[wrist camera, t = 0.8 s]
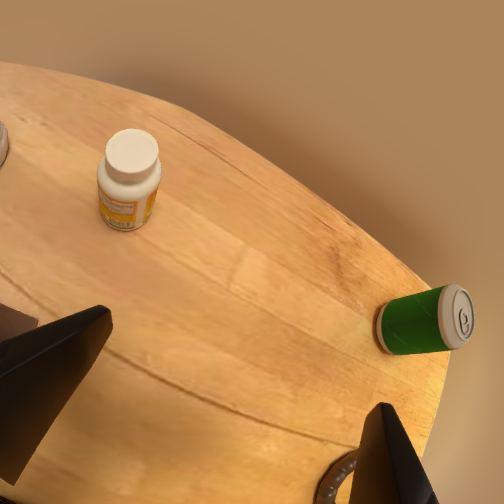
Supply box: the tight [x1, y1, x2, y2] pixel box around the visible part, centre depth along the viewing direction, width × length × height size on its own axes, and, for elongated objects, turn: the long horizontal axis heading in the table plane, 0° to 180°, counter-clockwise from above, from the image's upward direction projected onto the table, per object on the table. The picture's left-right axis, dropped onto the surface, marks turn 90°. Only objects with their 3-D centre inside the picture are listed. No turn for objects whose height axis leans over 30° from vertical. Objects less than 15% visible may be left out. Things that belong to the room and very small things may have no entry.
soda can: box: [376, 284, 475, 355], centre depth 31 cm, size 8×8×12 cm
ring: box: [316, 451, 358, 504], centre depth 26 cm, size 11×11×2 cm
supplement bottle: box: [97, 129, 162, 231], centre depth 23 cm, size 5×5×10 cm
